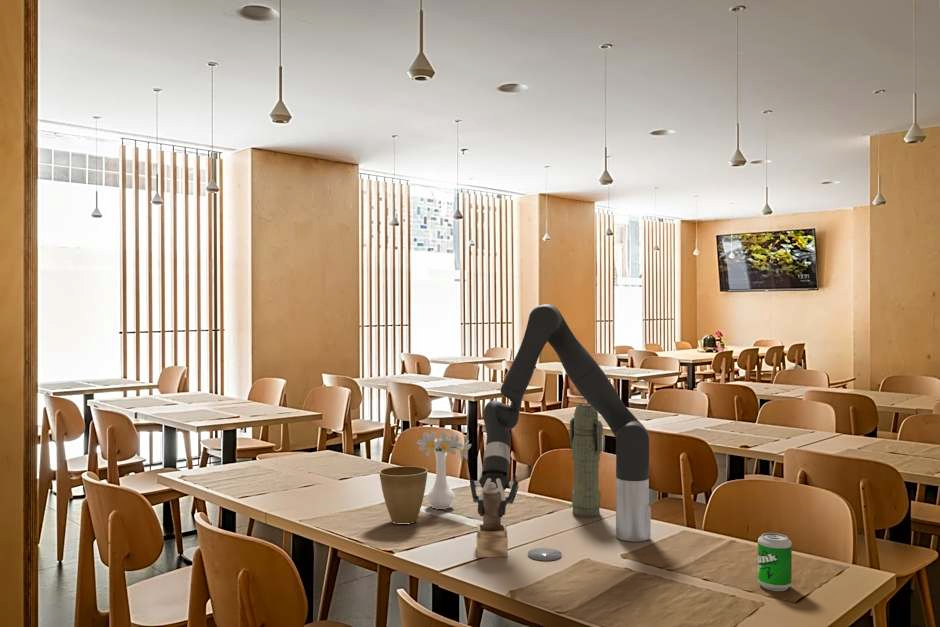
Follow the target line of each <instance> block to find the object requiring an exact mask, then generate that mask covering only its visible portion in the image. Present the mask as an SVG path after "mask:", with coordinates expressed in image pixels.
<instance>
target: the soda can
mask: <svg viewBox="0 0 940 627" xmlns="http://www.w3.org/2000/svg"><path fill="white" fill-rule="evenodd" d="M792 545H793V543H792V541H791V540H790V539H789V538H788V536H787V535H784V534H781V533H774V532H765V533H762V534H761V536H759V537H758V539H757V581H758V583H759V585H761V587H762V588H764V589H766V590H768V591H773V592H784V591H787V590H788V589H789V588H790V587H791V586H792V580H793V579H792V576H793V575H792V574H793V573H792V571H793V570H792V563H793V562H792V560H793V559H792V556H793V555H792V550H793V549H792V548H793V546H792Z"/></svg>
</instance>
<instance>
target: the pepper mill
mask: <svg viewBox="0 0 940 627" xmlns="http://www.w3.org/2000/svg"><path fill="white" fill-rule="evenodd" d="M500 502H501V492H499V488H496V484H495V483H493V482H490V483H489V484H488V486H487V488H485V491H484V492H483V516H482V518H483V519H482V521H483V523H482V524H483V531H501V524H502V520H501V519H502V517H500V515H499V512H500Z"/></svg>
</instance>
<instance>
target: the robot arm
mask: <svg viewBox="0 0 940 627" xmlns="http://www.w3.org/2000/svg"><path fill="white" fill-rule="evenodd" d="M524 331H525V332H524V336H523V337H522V341H521V343H520V346H519V348H518V351H517V353H516V356H515V358H514V360H513V362H512V364H511V365H510V367H509V369H508V372H507V374H506V376H505V378H504V380H503V382H502V385H501V386H500V394H501V395H502V396H504V397H505V398H507V399H508V400H509V401H510V405H508V404H506V403H503V402H501V401H498V400H489V402H487V403H486V404H485V406H484V409H483V423H484V428H485V433H486V441H485V442H486V443H485V449H484V453H483V461H482V471H481V476H480V478H479V479H478V480H474V479H470V480H469V485H470V490H471V496H472V502H473V503H477V514H478V515H479V516H480V517H483V492H484V491H485V488H487V486H488V484H489V483H490V482H493V483H495V484H496V488H499V492H501V502H500V512H499V515H500V517H501V518H504V517H503V516H505V515H506V510H507V505H508V504H509V505H512V504H514V502H515V499H516V495H517V493H518V491H519V481H517V480H514V481H511V480H510V478H509V473H510V464H511V440H512V434H511V433H510V430H513V429H514V428H515V427H516V426H517V424H518V423H519V418H520V410H521V405H522V402H523V398H524V395H525V393H526V390H527V388H528V387H529V385H530V382H531V380H532V377H533V375H534V372H535V368H536V365H537V363H538V360H539V357H540V355H541V353H542V351H543V349H544V347H545V346H546V344H547V343H548V344H549V345H550V347H551V348H552V349H553V351H554V352H555V353H556V355H557V357H558V358H559V361H560V364H561V365H562V367H563V369H564V372H565V373H566V374H567V376H568V379H569V381H570V382H571V383H572V385H573V386H574V387H575V388H576V390H577V392H578V393H579V394H580V395H581V396H582V397H583V399H585V402H587V404H590V405H591V406H592V407H593V408H594V409H595V410H596V411H597V413H598V415H600V416H601V418H603V419H604V421H605V422H606V424H607V425H608V427H609V429H610V430H611V432H612V434H613V437H615V487H616V488H615V537H616V538H617V539H619V540H622V541H625V542H633V543H634V542H635V543H636V542H637V543H639V542H644V541H649V540H650V541H651V539H652V538H651V537H652V536H651V534H652V532H651V531H652V530H651V529H652V528H651V527H652V526H651V525H652V524H651V522H652V521H651V520H652V518H651V517H652V516H651V514H652V513H651V512H652V511H651V510H652V508H651V506H650V503H649V501H650V500H649V495H650V494H649V490H650V488H649V478H650V477H649V476H650V474H649V473H650V437H649V433H648V430H647V428H646V427H645V426H644V425H643V424H642V423H641V422H640V421H639V420H638V418H637V417H636V416H635V415H634V414H633V413H632V411H630V410H629V409H628V407H627V406H626V405H625V404H624V402H623V401H622V399H621V397H620V396H619V395H618V392H617V390H616V388H615V387H614V386H613V384H612V383H611V381H610V378H608V376H607V374H606V373H605V372H604V370H603V369H602V368H601V367H600V365H599V364H598V363H597V361H596V360H595V359H594V357H593V356H592V355H591V354H590V352H589V351H588V350H587V349H586V348H585V347H584V346H583V344H581V342H580V341H579V340H578V339H577V338H576V336H575V334H574V333H573V331H572V330H571V328H570V327H569V325H568V324H567V322H566V320H565V318H564V316H563V315H562V313H561V311H560V310H559V309H558V308H557V307H556V306H555V305H552V304H548V303H545V304H541V305H538V306H536V307H534V308H533V309H532V310H531V312H530V313H529V316H528V319H527V324H526V329H525V330H524ZM479 486H480V487H481V488H482V489H481V492H480V495H478V494H477V489H479ZM508 487H509V488H510V490H509V494H508V496H506V495H505V492H504V491H506V489H507V488H508Z"/></svg>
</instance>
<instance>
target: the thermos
mask: <svg viewBox="0 0 940 627" xmlns="http://www.w3.org/2000/svg"><path fill="white" fill-rule="evenodd" d="M603 430H604V425H603V423H602V421H601V420H599V412H597V411H596V410H595V409H594V408H593V407H592V406H591V405H590V404H589V403H579V404H578V405H576V407H575V410H574V413H573V417H572V418H571V419H570V421H569V445H570V448H569V449H570V450H571V455H572V457H571V459H572V461H573V488H572V491H571V506H572V514H573V515H574V516H577V517H580V518H581V517H582V518H593V517H594V518H595V517H599V516H600V514H601V512H600V508H601V493H600V489H599V462H600V460H601V453H602V452H603V451H604V450H603V432H604V431H603Z"/></svg>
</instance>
